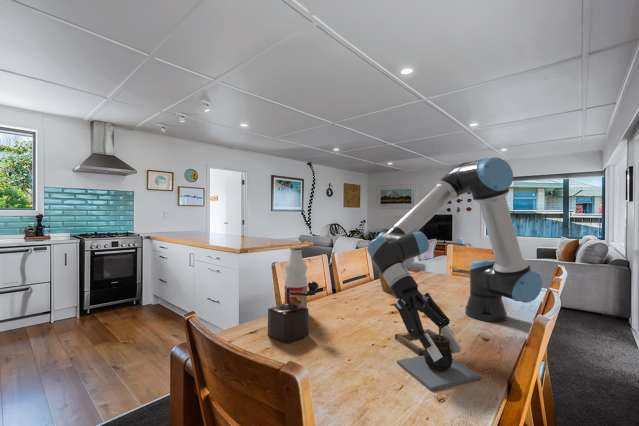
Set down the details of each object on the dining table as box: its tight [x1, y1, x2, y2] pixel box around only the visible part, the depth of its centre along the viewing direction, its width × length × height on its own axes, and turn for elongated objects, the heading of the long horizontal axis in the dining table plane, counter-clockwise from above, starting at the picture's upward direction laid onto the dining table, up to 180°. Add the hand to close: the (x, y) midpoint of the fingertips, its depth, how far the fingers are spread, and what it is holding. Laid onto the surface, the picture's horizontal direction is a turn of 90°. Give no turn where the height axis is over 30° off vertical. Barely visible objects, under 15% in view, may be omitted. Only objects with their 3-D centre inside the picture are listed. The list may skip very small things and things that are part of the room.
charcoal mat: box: [396, 355, 482, 392], centre depth 82 cm, size 16×14×1 cm
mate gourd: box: [423, 326, 453, 371], centre depth 83 cm, size 7×8×10 cm
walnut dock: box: [394, 328, 452, 356], centre depth 99 cm, size 14×13×2 cm
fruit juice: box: [284, 246, 308, 308], centre depth 128 cm, size 9×9×28 cm
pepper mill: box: [267, 281, 319, 345], centre depth 107 cm, size 16×11×18 cm
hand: (448, 354), depth 80 cm, fingers open, 8 cm apart
